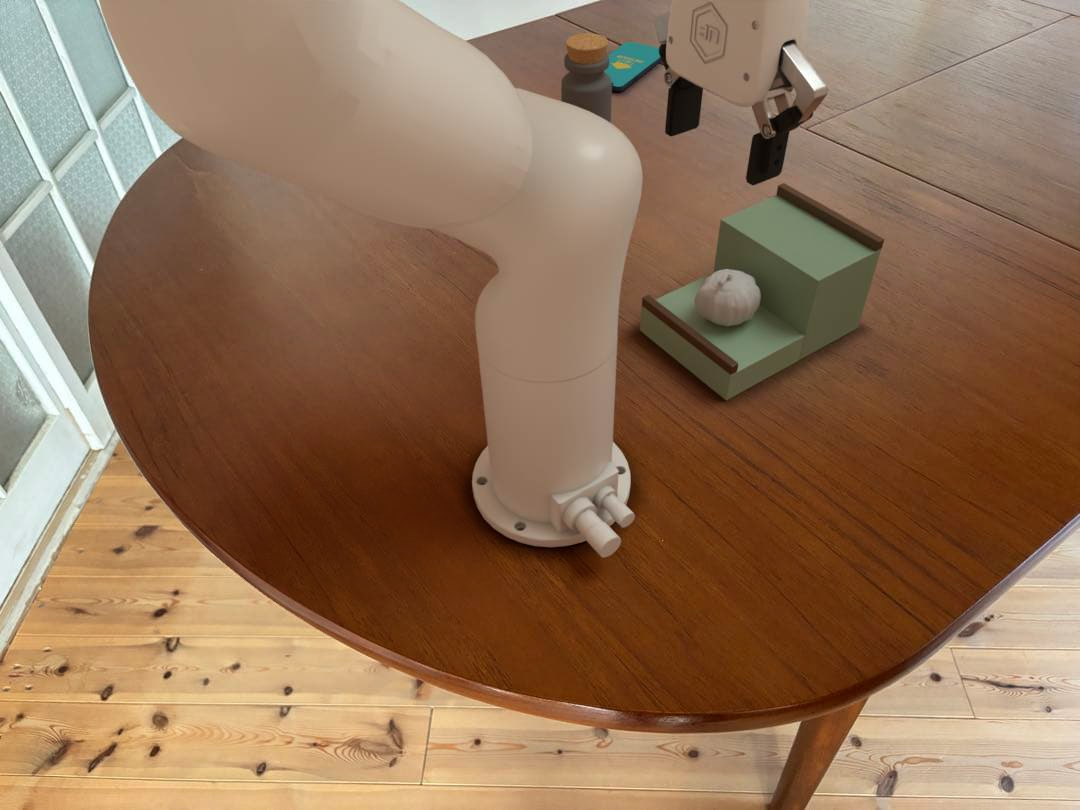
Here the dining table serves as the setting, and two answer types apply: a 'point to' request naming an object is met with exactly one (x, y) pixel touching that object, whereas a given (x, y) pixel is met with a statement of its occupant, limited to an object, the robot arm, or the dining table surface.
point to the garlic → (728, 297)
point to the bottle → (587, 74)
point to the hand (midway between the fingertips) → (720, 154)
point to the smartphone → (630, 63)
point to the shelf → (771, 292)
